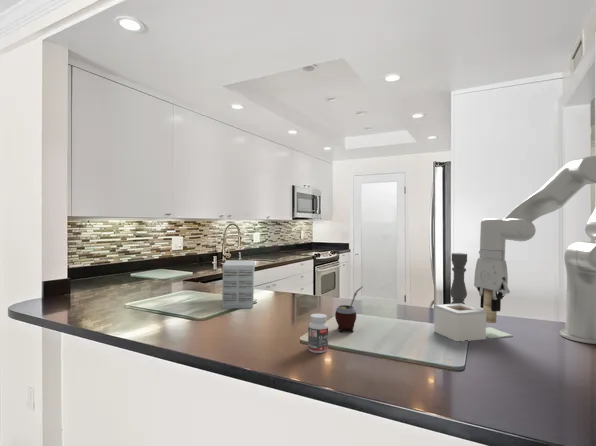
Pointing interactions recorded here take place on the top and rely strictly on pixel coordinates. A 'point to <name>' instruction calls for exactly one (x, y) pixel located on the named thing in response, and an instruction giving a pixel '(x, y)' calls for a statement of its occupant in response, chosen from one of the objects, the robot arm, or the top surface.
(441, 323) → the box
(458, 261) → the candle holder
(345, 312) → the mate gourd
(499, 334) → the pad
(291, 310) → the top surface
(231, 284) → the supplement box
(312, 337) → the pill bottle
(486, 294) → the wooden cylinder
